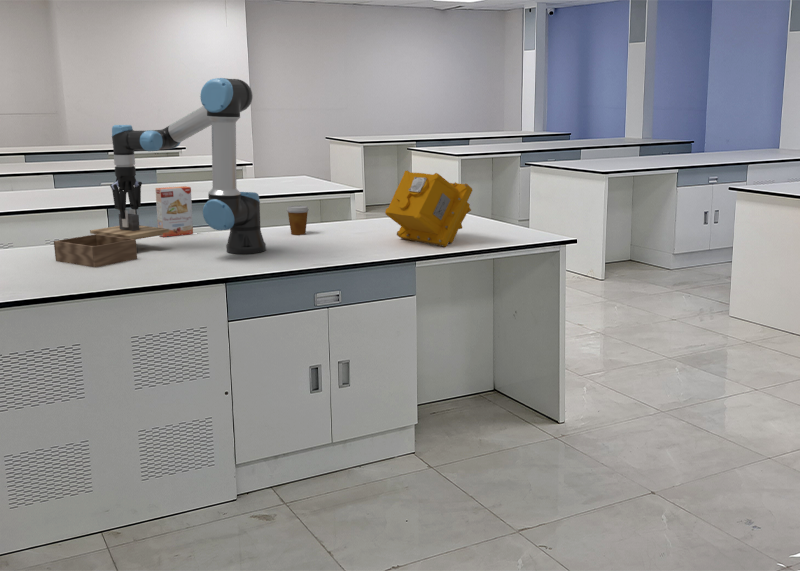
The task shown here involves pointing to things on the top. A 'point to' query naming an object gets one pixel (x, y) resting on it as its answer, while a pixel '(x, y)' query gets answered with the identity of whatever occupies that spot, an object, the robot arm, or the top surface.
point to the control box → (429, 208)
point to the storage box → (95, 250)
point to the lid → (131, 229)
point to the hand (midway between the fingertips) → (129, 226)
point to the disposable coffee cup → (297, 219)
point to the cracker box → (174, 210)
